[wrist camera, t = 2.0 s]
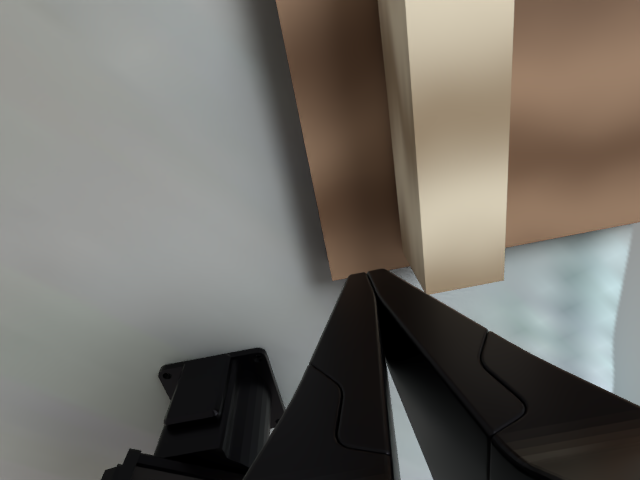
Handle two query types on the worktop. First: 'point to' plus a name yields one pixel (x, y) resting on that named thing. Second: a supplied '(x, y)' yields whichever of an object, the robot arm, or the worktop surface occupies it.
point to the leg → (450, 134)
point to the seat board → (524, 135)
